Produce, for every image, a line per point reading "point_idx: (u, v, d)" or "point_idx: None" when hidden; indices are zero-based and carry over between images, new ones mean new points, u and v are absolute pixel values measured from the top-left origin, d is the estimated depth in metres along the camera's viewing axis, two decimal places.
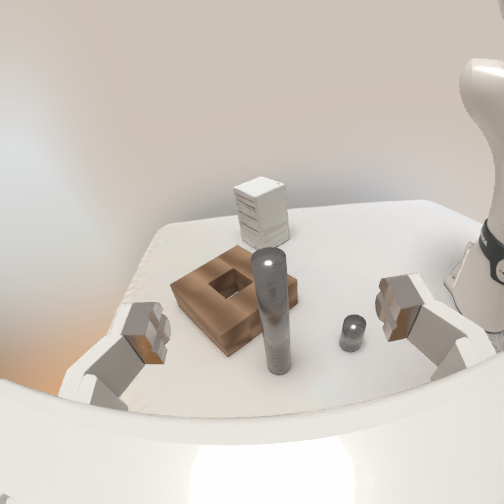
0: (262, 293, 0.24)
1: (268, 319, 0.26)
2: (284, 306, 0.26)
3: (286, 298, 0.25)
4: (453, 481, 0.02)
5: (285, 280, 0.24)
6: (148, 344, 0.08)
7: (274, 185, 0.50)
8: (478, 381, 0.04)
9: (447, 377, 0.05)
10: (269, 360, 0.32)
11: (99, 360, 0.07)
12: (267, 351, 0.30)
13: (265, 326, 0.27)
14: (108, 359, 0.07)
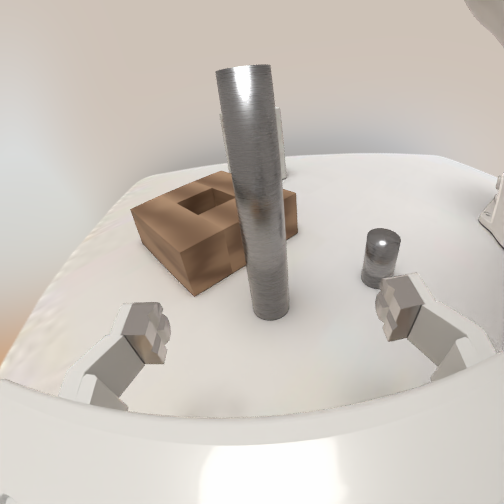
0: (233, 122, 0.13)
1: (245, 182, 0.15)
2: (272, 155, 0.14)
3: (275, 141, 0.14)
4: (453, 481, 0.02)
5: (271, 102, 0.13)
6: (148, 344, 0.08)
7: None
8: (478, 381, 0.04)
9: (447, 377, 0.05)
10: (253, 289, 0.20)
11: (99, 359, 0.07)
12: (249, 267, 0.19)
13: (242, 202, 0.16)
14: (108, 359, 0.07)
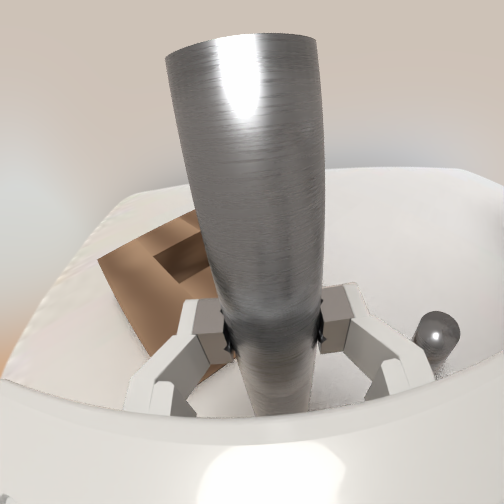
0: (215, 207, 0.05)
1: (248, 330, 0.07)
2: (311, 279, 0.06)
3: (320, 244, 0.06)
4: (453, 481, 0.02)
5: (320, 146, 0.05)
6: (223, 343, 0.08)
7: None
8: (478, 381, 0.04)
9: (447, 377, 0.05)
10: None
11: (171, 363, 0.07)
12: (254, 405, 0.11)
13: (243, 352, 0.08)
14: (179, 362, 0.07)
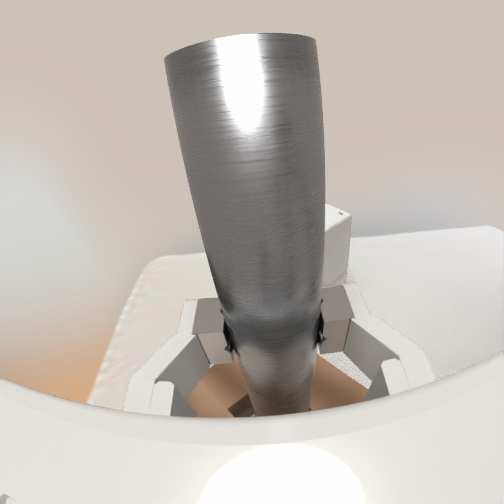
0: (215, 208, 0.05)
1: (249, 331, 0.07)
2: (311, 280, 0.06)
3: (321, 245, 0.06)
4: (453, 481, 0.02)
5: (320, 147, 0.05)
6: (223, 342, 0.08)
7: (335, 216, 0.29)
8: (478, 381, 0.04)
9: (447, 377, 0.05)
10: None
11: (171, 363, 0.07)
12: (254, 406, 0.11)
13: (243, 353, 0.08)
14: (179, 362, 0.07)
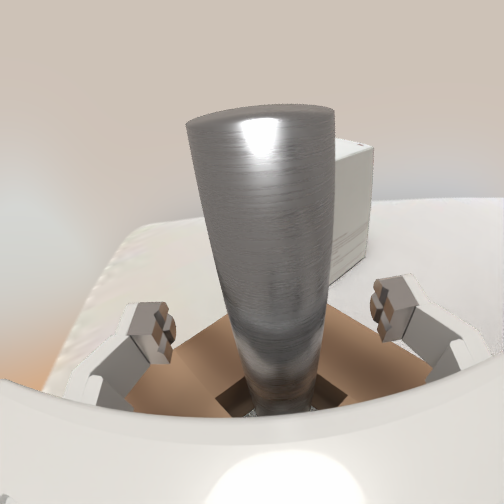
0: (236, 271, 0.06)
1: (260, 361, 0.08)
2: (316, 322, 0.07)
3: (325, 293, 0.07)
4: (453, 481, 0.02)
5: (331, 216, 0.06)
6: (154, 344, 0.08)
7: (355, 146, 0.22)
8: (478, 381, 0.04)
9: (447, 377, 0.05)
10: None
11: (105, 360, 0.07)
12: None
13: (253, 376, 0.09)
14: (114, 359, 0.07)
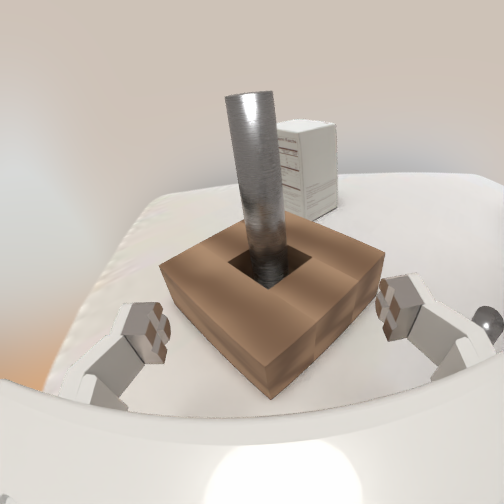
0: (241, 143, 0.16)
1: (252, 194, 0.18)
2: (274, 170, 0.17)
3: (277, 158, 0.17)
4: (453, 481, 0.02)
5: (274, 124, 0.16)
6: (148, 344, 0.08)
7: (321, 123, 0.31)
8: (478, 381, 0.04)
9: (447, 377, 0.05)
10: None
11: (99, 360, 0.07)
12: (254, 267, 0.22)
13: (249, 211, 0.19)
14: (108, 359, 0.07)
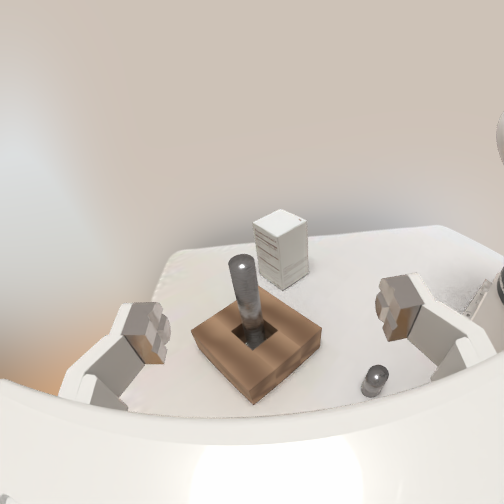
0: (237, 289, 0.33)
1: (243, 309, 0.34)
2: (255, 299, 0.34)
3: (256, 293, 0.34)
4: (453, 481, 0.02)
5: (254, 279, 0.32)
6: (148, 344, 0.08)
7: (296, 221, 0.48)
8: (478, 381, 0.04)
9: (447, 377, 0.05)
10: (248, 344, 0.40)
11: (99, 360, 0.07)
12: (246, 336, 0.39)
13: (242, 315, 0.35)
14: (108, 359, 0.07)
